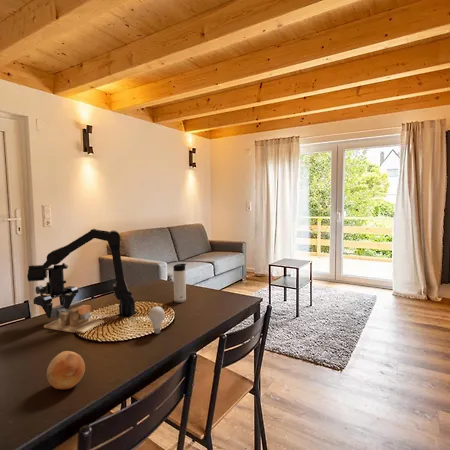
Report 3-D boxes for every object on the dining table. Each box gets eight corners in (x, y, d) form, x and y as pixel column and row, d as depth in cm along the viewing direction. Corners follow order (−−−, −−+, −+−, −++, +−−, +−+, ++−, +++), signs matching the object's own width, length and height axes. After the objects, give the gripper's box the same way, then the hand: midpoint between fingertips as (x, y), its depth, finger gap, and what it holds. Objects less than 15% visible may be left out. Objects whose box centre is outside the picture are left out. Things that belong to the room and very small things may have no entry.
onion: (38, 392, 85) (36, 358, 85) (68, 374, 95) (67, 342, 94) (65, 400, 82) (63, 364, 81) (93, 380, 91) (91, 347, 91)
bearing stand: (104, 322, 135) (103, 305, 135) (83, 333, 124) (82, 314, 123) (66, 317, 142) (65, 300, 141) (43, 327, 131) (42, 309, 130)
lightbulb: (167, 331, 125) (167, 305, 124) (159, 337, 119) (159, 310, 119) (154, 329, 127) (153, 303, 126) (146, 335, 121) (145, 308, 121)
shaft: (91, 319, 132) (90, 308, 132) (84, 322, 128) (83, 312, 128) (59, 314, 138) (59, 305, 137) (52, 318, 134) (51, 307, 134)
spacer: (90, 311, 132) (90, 305, 132) (83, 314, 128) (82, 308, 128) (86, 310, 133) (85, 304, 133) (78, 313, 129) (78, 308, 129)
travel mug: (184, 303, 160) (183, 265, 159) (172, 302, 162) (171, 264, 160) (188, 299, 167) (187, 262, 165) (176, 298, 168) (175, 262, 166)
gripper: (59, 273, 146) (61, 305, 147) (22, 283, 128) (24, 319, 129) (78, 274, 142) (80, 308, 143) (42, 285, 125) (45, 323, 126)
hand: (58, 314), depth 135 cm, fingers open, 9 cm apart
